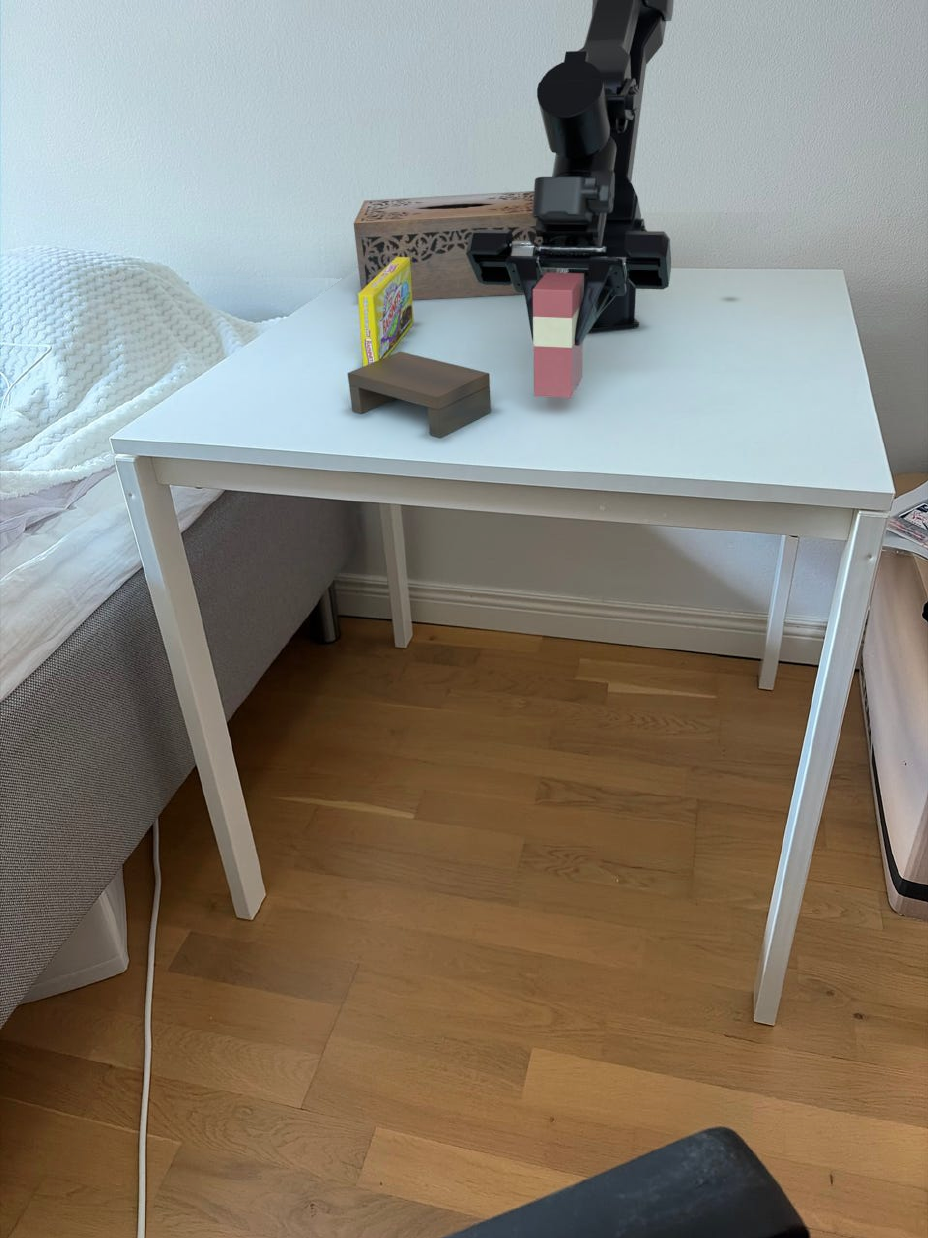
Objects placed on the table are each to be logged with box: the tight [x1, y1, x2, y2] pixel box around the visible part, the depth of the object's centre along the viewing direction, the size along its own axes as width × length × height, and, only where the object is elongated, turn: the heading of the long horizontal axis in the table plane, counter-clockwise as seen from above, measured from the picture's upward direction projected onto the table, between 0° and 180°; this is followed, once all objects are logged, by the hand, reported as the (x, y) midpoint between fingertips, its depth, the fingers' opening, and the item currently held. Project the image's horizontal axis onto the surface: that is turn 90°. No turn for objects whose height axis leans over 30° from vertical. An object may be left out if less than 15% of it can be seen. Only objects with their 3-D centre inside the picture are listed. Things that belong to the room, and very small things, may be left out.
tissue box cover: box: [353, 190, 557, 301], centre depth 131 cm, size 26×14×10 cm, turn 89°
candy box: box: [357, 257, 414, 367], centre depth 110 cm, size 16×2×8 cm, turn 168°
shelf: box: [347, 351, 492, 439], centre depth 94 cm, size 8×12×4 cm, turn 49°
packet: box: [532, 272, 584, 399], centre depth 90 cm, size 6×4×10 cm, turn 163°
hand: (555, 342), depth 89 cm, fingers closed on packet, 4 cm apart
